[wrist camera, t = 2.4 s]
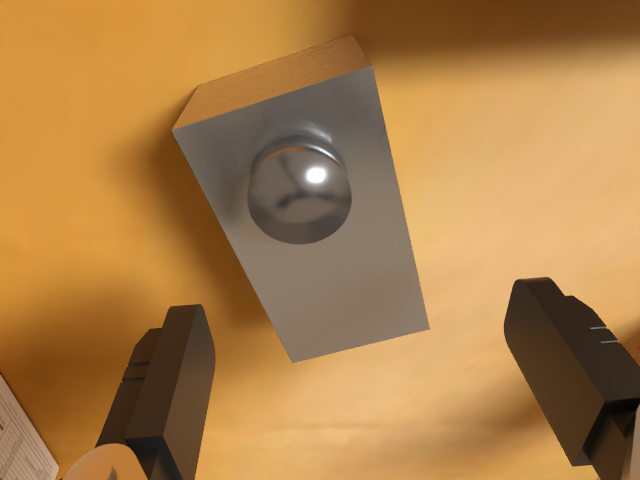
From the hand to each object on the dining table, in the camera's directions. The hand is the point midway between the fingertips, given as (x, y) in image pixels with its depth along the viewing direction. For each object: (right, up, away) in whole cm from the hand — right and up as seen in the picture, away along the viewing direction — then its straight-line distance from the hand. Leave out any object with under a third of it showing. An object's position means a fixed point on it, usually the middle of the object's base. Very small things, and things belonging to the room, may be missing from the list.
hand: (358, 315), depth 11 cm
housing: (-1, +4, +6) cm, 8 cm away
